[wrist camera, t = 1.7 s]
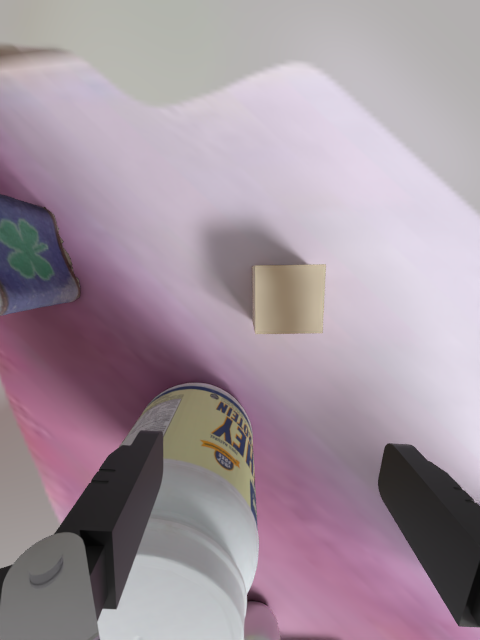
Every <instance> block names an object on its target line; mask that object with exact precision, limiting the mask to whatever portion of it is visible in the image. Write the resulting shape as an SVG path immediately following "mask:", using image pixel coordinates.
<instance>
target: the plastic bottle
mask: <svg viewBox="0 0 480 640" xmlns="http://www.w3.org/2000/svg"><path fill="white" fill-rule="evenodd" d="M244 640H281V636H280V632H279V628H278V623H277V619H276V617H275V615H274V614H273V612H272V611H271V609H270V608H269V607H268V606H267V605H265V604H263V603H260V602H256V601H248V602H247V609H246V616H245V619H244Z"/></svg>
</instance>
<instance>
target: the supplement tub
mask: <svg viewBox="0 0 480 640" xmlns="http://www.w3.org/2000/svg"><path fill="white" fill-rule="evenodd" d="M141 430H148V431H162V432H163V477H162V482H161V486H160V490H159V492H158V495H157V498H156V501H155V504H154V506H153V509H152V512H151V515H150V518H149V520H148V523H147V526H146V529H145V531H144V534H143V537H142V540H141V543H140V545H139V548H138V551H137V554H136V557H135V559H134V562H133V565H132V568H131V571H130V573H129V576H128V579H127V582H126V584H125V587H124V590H123V593H122V596H121V598H120V601H119V604H118V607H117V609H102V611H101V614H100V616H99V619H98V621H97V624H98V630H99V636H100V640H244V619H245V616H246V609H247V593H248V591H249V589H250V587H251V585H252V582H253V579H254V576H255V572H256V568H257V562H258V550H259V537H258V529H257V511H256V493H255V475H254V457H253V434H252V427H251V423H250V421H249V418H248V416H247V414H246V412H245V410H244V409H243V407H242V406H241V405H240V403H239V402H238V401H237V400H236V399H235V398H234V397H233V396H231V395H230V394H229V393H227V392H226V391H224V390H222V389H220V388H218V387H216V386H213V385H210V384H206V383H185V384H181V385H177V386H174V387H171V388H169V389H167V390H165V391H164V392H162V393H160V394H159V395H158V396H156V397H155V398H154V399H153V400H152V401H151V402H150V403H149V404H148V405H147V407H146V408H145V410H144V412H143V413H142V415H141V416H140V418H139V419H138V420H137V422H136V423H135V425H134V426H133V428H132V429H131V431H130V432H129V433H128V435H127V436H126V438H125V439H124V441H123V442H122V444H121V445H131V444H132V443H133V441H134V439H135V438H136V436H137V434H138V433H139V431H141ZM121 445H120V446H121ZM120 446H119V447H120Z"/></svg>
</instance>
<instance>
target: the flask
mask: <svg viewBox="0 0 480 640" xmlns="http://www.w3.org/2000/svg"><path fill="white" fill-rule="evenodd" d="M58 230H59V229H58V227H57V225H56V220H55V216H54V214H52V213H51V212H50V211H49V210H47V209H46V208H45V207H44V208H42V207H39V206H36V205H33V204H30V203H27V202H24V201H20V200H17V199H14V198H12V197H8V196H5V195H1V194H0V316H1V315H7V314H10V313H16V312H20V311H25V310H30V309H35V308H40V307H45V306H52V305H56V304H62V303H68V302H73V301H74V300H76V299H77V298H79V297H80V285H79V280H78V278H76V277H75V275H74V272H73V270H72V269H73V267H72V263H71V258H70V257H69V254H68V253H67V252H66V251H65V250H64V248H63V247H62V243H63V242H64V241H62V239H61V238H60V237H59V234H58Z"/></svg>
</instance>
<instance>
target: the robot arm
mask: <svg viewBox="0 0 480 640" xmlns="http://www.w3.org/2000/svg"><path fill="white" fill-rule="evenodd" d="M162 477H163V432H162V431H148V430H141V431H139V433H138V434H137V436H136V438H135V439H134V441H133V443H132V444H131V445H121V446H120V447H119V448H118V449H116V450H115V451H114V452H113V453H111V454H110V455H109V456H108V457H107V459H106V460H105V461H104V463H103V464H102V466H101V467H100V469H99V472H97V473H96V474H95V476H94V477H93V479H92V481H91V483H89V485H88V486H87V488H86V489H85V490H84V492H83V493H82V495H81V496H80V498H79V499H78V501H77V502H76V504H75V505H74V506H73V508H72V509H71V511H70V512H69V514H68V515H67V517H66V518H65V519H64V521H63V522H62V524H61V525H60V527H59V528H58V530H57V531H56V532H55V534H54V535H51V536H49V537H46V538H44V539H42V540H40V541H39V542H37V543H35V544H34V545H32V547H30V548H29V549H27V550H26V551H25V552H24V553H23V554H22V555H21V556H20V557H19V558H18V559H17V560H16V561H15V562H14V564H13V565H10V566H7V567H4V568H1V569H0V640H100V636H99V630H98V624H97V621H98V619H99V616H100V614H101V611H102V609H117V607H118V604H119V601H120V598H121V596H122V593H123V590H124V587H125V584H126V582H127V579H128V576H129V573H130V571H131V568H132V565H133V562H134V559H135V557H136V554H137V551H138V548H139V545H140V543H141V540H142V537H143V534H144V531H145V529H146V526H147V523H148V520H149V518H150V515H151V512H152V509H153V506H154V504H155V501H156V498H157V495H158V492H159V490H160V486H161V482H162ZM378 486H379V492H380V495H381V498H382V500H383V502H384V503H385V505H386V507H387V508H388V510H389V512H390V513H391V515H392V517H393V518H394V520H395V522H396V523H397V525H398V527H399V528H400V530H401V532H402V533H403V535H404V536H405V538H406V540H407V541H408V543H409V545H410V546H411V548H412V550H413V551H414V553H415V555H416V556H417V558H418V560H419V561H420V563H421V565H422V566H423V568H424V570H425V571H426V573H427V575H428V576H429V578H430V580H431V581H432V583H433V584H434V586H435V588H436V589H437V591H438V593H439V594H440V596H441V598H442V599H443V601H444V603H445V604H446V606H447V608H448V609H449V611H450V613H451V614H452V616H453V618H454V619H455V621H456V623H457V624H458V626H462V627H480V506H479V505H478V504H477V503H474V500H473V499H472V498H471V497H470V496H469V495H468V494H467V493H466V492H465V491H463V490H462V488H461V487H460V486H459V485H458V484H457V483H456V482H455V481H454V480H453V479H452V478H451V476H450V475H449V474H448V473H446V472H445V471H443V470H442V469H440V468H439V467H437V466H436V465H434V464H433V463H432V462H430V461H427V460H426V459H425V458H424V457H423V456H422V454H421V453H420V452H419V451H418V450H417V449H416V448H415V447H414V446H412V445H408V444H387V445H386V446H385V449H384V453H383V459H382V464H381V469H380V474H379V479H378Z"/></svg>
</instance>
